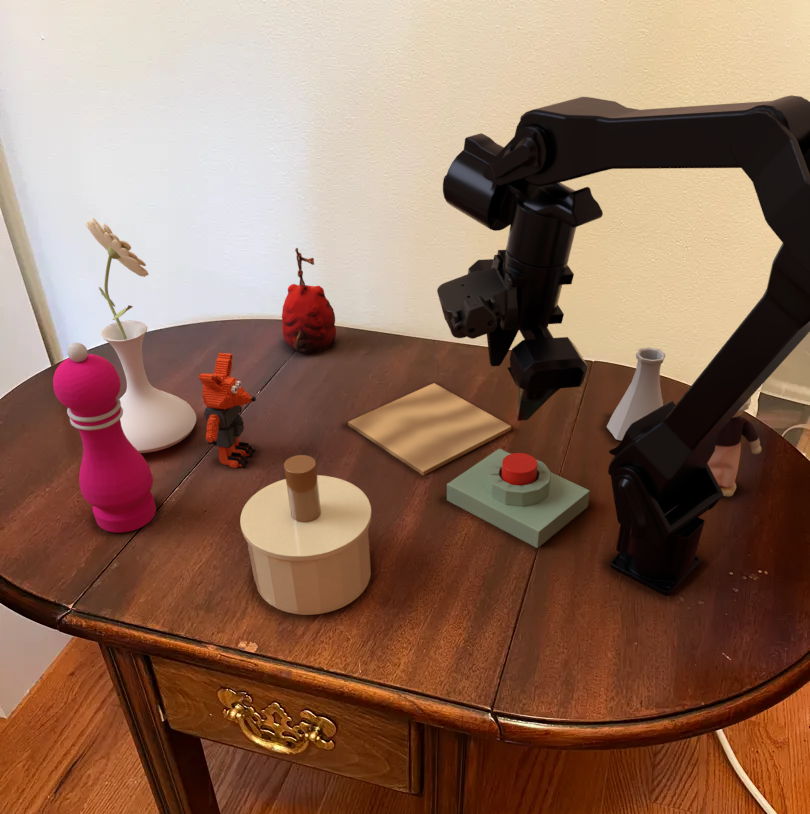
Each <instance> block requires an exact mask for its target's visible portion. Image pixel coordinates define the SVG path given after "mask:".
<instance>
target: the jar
mask: <svg viewBox="0 0 810 814" xmlns="http://www.w3.org/2000/svg"><path fill="white" fill-rule="evenodd" d="M369 527H370V526H369ZM369 527H368V529H367V531H366V533H365V534H364V535H363V537H362V538H361V539H360V540H359V541H358V542H356V543H355V544H354V545H352V546H351V547H349V548H348V549H346V550H344V551H342V552H340V553H338V554H335V555H332V556H329V557H325V558H322V559H316V560H309V561H289V560H282V559H277V558H273V557H270V556H267V555H265V554H263V553H261V552H259V551H257V550H256V549H254V548H253V547H252V546H251V545H250V544H249V543H248V542H247V541H246V544H247V547H248V549H247V550H248V554H249V558H250V564H251V570H252V575H253V580H254V583H255V584H256V588H257V589H256V590H257V591H258V593H259V595H260V596H261V598H262V599H263V600H264V601H265V602H266V603H267V604H268V605H270V606H272V607H274V608H275V609H277V610H279V611H282V612H286V613H289V614H294V615H301V616H302V615H303V616H313V615H321V614H327V613H330V612H334V611H337V610H339V609H342V608H344V607H346V606H347V605H349V604H350V603H352V602H354V601H355V600H356V599H358V598H359V597H360V596H361V595H362V594H363V593H364V591H365V590H366V588H367V587H368V585H369V583H370V580H371V575H372V568H371V567H372V563H371V562H372V559H371V544H370V531H369V530H370V529H369Z"/></svg>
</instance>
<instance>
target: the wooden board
mask: <svg viewBox="0 0 810 814" xmlns="http://www.w3.org/2000/svg"><path fill="white" fill-rule="evenodd" d="M347 425H348V427H350V428H351V429H352V430H354V431H356V432H357V433H358V434H360V435H362V436H363V437H365V438H366V439H368V440H369V441H371V442H372V443H374V444H375V445H377V446H378V447H380V448H381V449H383V450H384V451H385V452H387V453H388V454H390V455H392V456H393V457H395V458H396V459H398V460H399V461H401V462H402V463H404V464H405V465H406V466H408V467H410V468H411V469H413V470H414V471H416V472H417V473H419V474H420V475H421V476H425V475H428V474H430V473H431V472H433V471H435V470H437V469H439V468H440V467H443V466H444V465H447V464H448V463H450V462H453V461H454V460H456V459H458V458H461V457H462V456H464V455H466V454H467V453H470V452H471V451H473V450H476V449H477V448H479V447H482V446H483V445H485V444H487V443H489V442H491V441H493V440H495V439H496V438H498V437H500V436H503V435H504V434H507V433H508V432H511V431H512V425H510V424H508V423H506V422H505V421H503V420H501V419H499V418H497V417H495V416H494V415H492V414H491V413H489V412H487V411H485V410H483V409H481V407H480V408H479V407H478V406H476V405H474V404H472V403H470V402H469V401H468V400H465V399H463V398H461V397H460V396H458V395H457V394H454V393H453V392H452V391H449V390H447V389H445V388H444V387H442V386H440V385H438V384H437V383H435V382H433V383H431V384H428V385H426V386H424V387H422V388H420V389H418V390H415V391H413V392H411V393H409V394H407V395H404V396H401V397H400V398H398V399H396V400H393V401H391V402H389V403H386V404H385V405H382V406H380V407H377V408H376V409H372V410H371V411H369V412H366V413H365V414H362V415H360V416H358V417H356V418H355V417H354V418H353V419H351V420H349V421H348V422H347Z"/></svg>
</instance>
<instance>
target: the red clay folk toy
mask: <svg viewBox="0 0 810 814" xmlns="http://www.w3.org/2000/svg"><path fill="white" fill-rule="evenodd" d="M294 252H295V254H296V262H297V267H298V270H297V277H298V278H299V283H298V284H295V283H291V284H290V285H288V288H287V295H286V297H285V298H284V302H283V305H282V313H281V330H282V331H281V333H282V337H283V339H284V341H285V343H286V344H287V345H288V346H289V347H290V348H291V349H292V350H293V351H296V352H298V353H302V354H308V353H317V352H320V351H324V350H326V349H327V348H330V347H331V346H332V344H333V343H334V342H335V339H336V336H337V328H336V315H335V311H334V308H333V307H332V305H331V303H330V301H329V300H328V298H327V297H326V293H325V290H324V288H323V287H321V285H309V284H306V282H305V280H304V271H303V267H302V264H303V263H302V262H306V263H308V264H310V265H312V266H314V265H315V261H314V260H315V258H314V257H310V258H306V257H303V256H302V255H303V254H302V253H301V252H299V247H296V248H295V249H294Z"/></svg>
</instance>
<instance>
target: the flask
mask: <svg viewBox="0 0 810 814" xmlns="http://www.w3.org/2000/svg"><path fill="white" fill-rule="evenodd" d="M635 358H636V360H637V361H636V362H637V363H636V367H635V371H634V374H633V377H632V379H631V382H630V384H629V386H628V388H627V389H626V391H625V393H624V394H623V396H622V398H621V400H620V401H619V403H618V404H617V405H616V408H615V409H614V411H613V413H612V415H611V417H610V418H609V420H608V423H607V425H606V428H607V430H608V431H609V432H610V434H612V436H613V437H614V439H615V440H617V441H620V442H621V441H622V439H623V437H624V435H625V433H626V431H627V429H628V428H629V427H630V425H631V424H632V423H634V422H635V421H637V420H639V419H640V418H642V417H644V416H646V415H647V414H649V413H651V412H652V411H654V410H656V409H658V408H659V407H661V406H663V405H664V401H663V396H662V390H661V367H662V364H663V362H664V361H665V359H666V354H665V352H664V351H663V350H662V349H660V348H655V347H641V348H638V349H637V351H636V354H635Z"/></svg>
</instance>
